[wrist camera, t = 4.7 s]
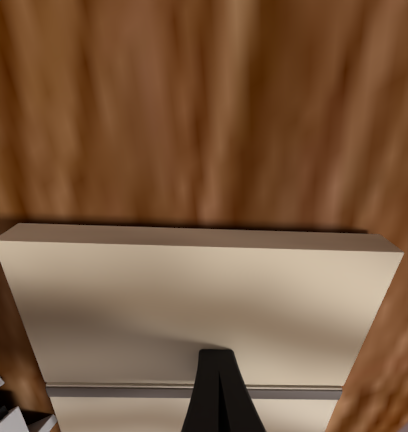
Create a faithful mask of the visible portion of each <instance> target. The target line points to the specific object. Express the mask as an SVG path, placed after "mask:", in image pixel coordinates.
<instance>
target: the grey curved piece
mask: <svg viewBox="0 0 408 432" xmlns="http://www.w3.org/2000/svg"><path fill="white" fill-rule="evenodd" d="M3 384H4V382H3V380H2V379H1V378H0V386H2V385H3ZM56 422H57V418H56V416H55V415H54V414H52V415H50V416H48V417H46V418H43V419H41V420H39V421H37V422H35V423H32V424H30V425H28V426H27V425H26V423H25V421H24V418H23V416H22V414H21V411H20V409H19V406H17V407H15V408H13V409H11V410H9V411H8V410H7V409H6V407H5V406H2V407H0V432H49V431H50V430H51V429H52V427H53V426H54V425H55V424H56Z"/></svg>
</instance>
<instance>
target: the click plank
mask: <svg viewBox="0 0 408 432" xmlns="http://www.w3.org/2000/svg"><path fill="white" fill-rule="evenodd" d="M403 254H404V252H403V251H402V250H400V249H399V248H398V247H396V246H395V245H394V244H392V243H391V242H390V241H388V240H387V239H386V238H384V237H383V236H381V235H380V234H354V233H322V232H290V231H258V230H226V229H194V228H161V227H129V226H97V225H65V224H33V223H18V224H16V225H15V226H13V227H12V228H10V229H9V230H7V231H6V232H4V233H3V234H2V235H0V262H1V265H2V268H3V270H4V273H5V276H6V278H7V281H8V284H9V287H10V289H11V292H12V295H13V297H14V300H15V303H16V305H17V308H18V311H19V314H20V316H21V319H22V322H23V324H24V327H25V330H26V333H27V335H28V338H29V341H30V343H31V346H32V349H33V351H34V354H35V357H36V360H37V362H38V365H39V368H40V370H41V373H42V376H43V378H44V381H45V382H88V383H169V384H194V383H195V378H196V373H197V367H198V356H199V351H200V350H201V349H227V350H233V351H234V354H235V358H236V361H237V364H238V367H239V370H240V372H241V375H242V378H243V380H244V383H245V384H251V385H332V386H344V383H345V381H346V379H347V377H348V375H349V373H350V370H351V368H352V366H353V364H354V362H355V359H356V357H357V355H358V353H359V351H360V348H361V346H362V344H363V342H364V340H365V337H366V335H367V333H368V331H369V329H370V326H371V324H372V322H373V320H374V318H375V316H376V313H377V311H378V309H379V307H380V305H381V302H382V300H383V298H384V296H385V294H386V291H387V289H388V287H389V285H390V283H391V280H392V278H393V276H394V274H395V272H396V269H397V267H398V265H399V263H400V261H401V259H402V256H403Z"/></svg>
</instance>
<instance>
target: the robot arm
mask: <svg viewBox="0 0 408 432" xmlns="http://www.w3.org/2000/svg"><path fill="white" fill-rule="evenodd" d="M181 432H267V431H266V429H265V427H264V425H263V423H262V421H261V419H260V417H259V415H258V413H257V411H256V408H255V406H254V404H253V402H252V399H251V397H250V395H249V393H248V390H247V388H246V385H245V383H244V380H243V378H242V375H241V372H240V370H239V367H238V364H237V361H236V358H235V354H234V351H233V350H227V349H201V350H200V351H199V356H198V367H197V373H196V378H195V383H194V387H193V391H192V395H191V399H190V403H189V407H188V410H187V414H186V417H185V420H184V423H183V426H182V430H181Z"/></svg>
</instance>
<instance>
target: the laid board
mask: <svg viewBox="0 0 408 432" xmlns="http://www.w3.org/2000/svg"><path fill="white" fill-rule="evenodd" d="M245 385H246V388H247V390H248V393H249V395H250V397H251V399H252V402H253V404H254V406H255V408H256V411H257V413H258V415H259V417H260V419H261V421H262V423H263V425H264V427H265V429H266V431H267V432H325V429H326V427H327V424H328V422H329V420H330V417H331V415H332V412H333V410H334V407H335V405H336V402H337V400H339V399H340V396H341V394H342V387H341V386H332V385H251V384H245ZM193 387H194V384H169V383H88V382H47V384H46V391H47V394H48V397H50V399H51V402H52V405H53V408H54V411H55V414H56V418H57V421H58V424H59V427H60V430H61V432H181V430H182V426H183V423H184V420H185V417H186V414H187V410H188V407H189V403H190V399H191V395H192V391H193Z"/></svg>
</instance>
